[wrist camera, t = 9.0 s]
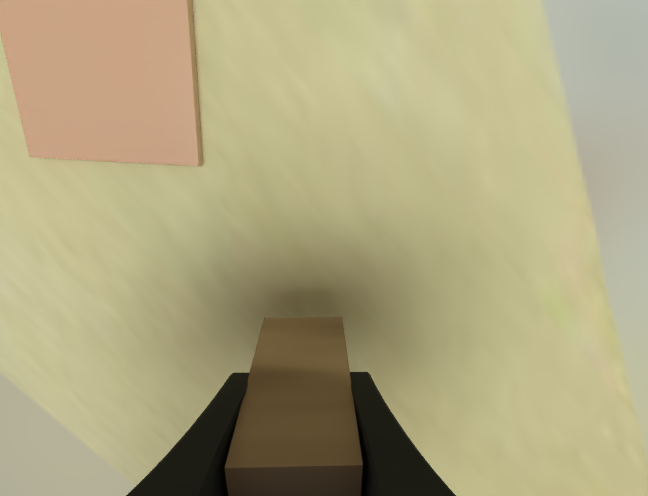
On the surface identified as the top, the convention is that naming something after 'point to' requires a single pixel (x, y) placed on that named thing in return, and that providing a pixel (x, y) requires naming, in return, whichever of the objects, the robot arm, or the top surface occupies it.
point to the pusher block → (297, 415)
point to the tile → (105, 79)
